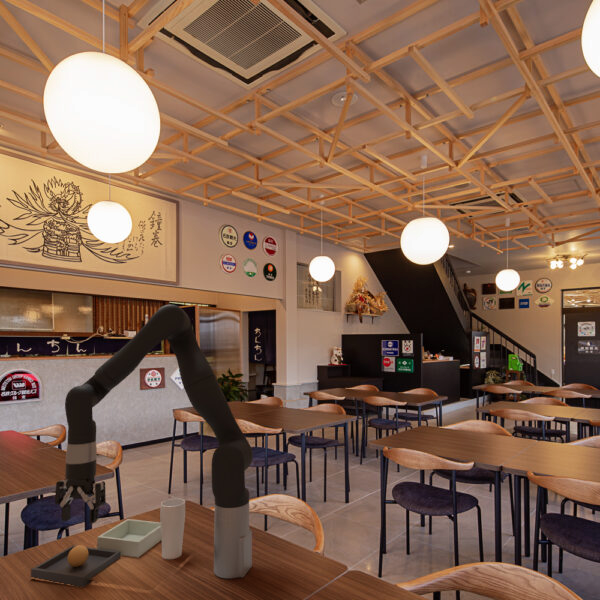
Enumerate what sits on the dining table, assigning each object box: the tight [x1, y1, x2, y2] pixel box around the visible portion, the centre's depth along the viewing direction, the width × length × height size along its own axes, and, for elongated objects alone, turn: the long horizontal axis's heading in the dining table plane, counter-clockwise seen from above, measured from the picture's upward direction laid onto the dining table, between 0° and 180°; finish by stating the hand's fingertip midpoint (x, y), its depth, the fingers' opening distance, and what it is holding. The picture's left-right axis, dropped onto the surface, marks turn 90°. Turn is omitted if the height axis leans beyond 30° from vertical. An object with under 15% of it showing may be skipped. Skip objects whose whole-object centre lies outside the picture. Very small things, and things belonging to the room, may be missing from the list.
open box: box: [96, 518, 162, 558], centre depth 129 cm, size 14×14×5 cm
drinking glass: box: [159, 498, 186, 560], centre depth 123 cm, size 7×7×15 cm
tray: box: [30, 545, 122, 589], centre depth 116 cm, size 16×14×2 cm
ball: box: [68, 544, 88, 567], centre depth 116 cm, size 5×5×5 cm
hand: (79, 521), depth 117 cm, fingers open, 8 cm apart
